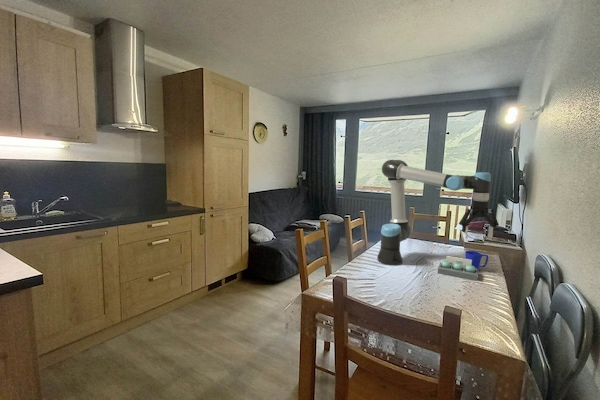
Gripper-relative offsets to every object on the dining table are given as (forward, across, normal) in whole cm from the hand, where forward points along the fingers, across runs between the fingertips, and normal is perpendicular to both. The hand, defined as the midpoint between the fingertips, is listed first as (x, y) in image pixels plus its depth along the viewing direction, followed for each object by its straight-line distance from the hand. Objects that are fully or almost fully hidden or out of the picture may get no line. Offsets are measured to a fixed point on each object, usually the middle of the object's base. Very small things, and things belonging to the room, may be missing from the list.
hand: (477, 237), depth 156 cm
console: (+21, -10, -1) cm, 23 cm away
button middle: (+18, -10, -1) cm, 21 cm away
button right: (+18, -5, -4) cm, 19 cm away
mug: (+21, +4, +6) cm, 22 cm away
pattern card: (+21, -6, +6) cm, 22 cm away
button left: (+18, -15, +2) cm, 24 cm away
